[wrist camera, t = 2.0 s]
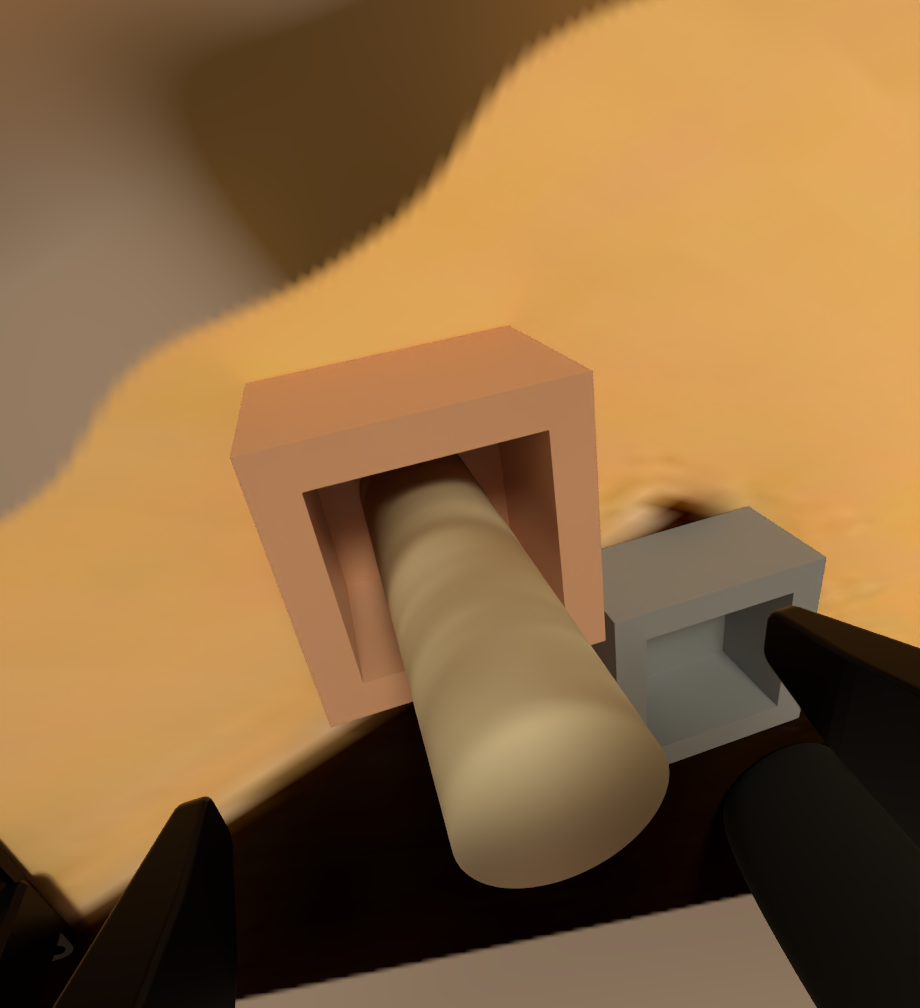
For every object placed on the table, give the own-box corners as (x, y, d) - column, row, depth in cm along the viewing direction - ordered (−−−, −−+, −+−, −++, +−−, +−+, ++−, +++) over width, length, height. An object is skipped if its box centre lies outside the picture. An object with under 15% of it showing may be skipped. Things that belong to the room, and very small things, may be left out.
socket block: (576, 706, 23) (620, 781, 20) (564, 559, 20) (614, 623, 17) (735, 653, 24) (798, 717, 21) (748, 506, 21) (826, 557, 18)
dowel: (373, 548, 17) (469, 916, 8) (347, 451, 15) (431, 775, 7) (474, 520, 17) (667, 841, 9) (458, 424, 16) (672, 693, 7)
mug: (787, 850, 33) (968, 1082, 24) (665, 846, 30) (825, 1116, 21) (924, 683, 29) (1199, 888, 20) (802, 656, 26) (1070, 889, 17)
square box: (319, 603, 18) (331, 727, 14) (245, 383, 15) (230, 457, 11) (533, 543, 19) (605, 640, 15) (509, 325, 16) (592, 371, 12)
